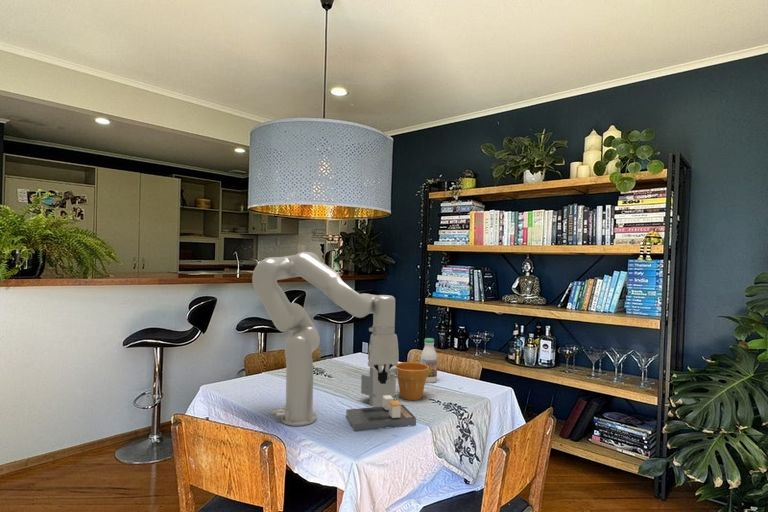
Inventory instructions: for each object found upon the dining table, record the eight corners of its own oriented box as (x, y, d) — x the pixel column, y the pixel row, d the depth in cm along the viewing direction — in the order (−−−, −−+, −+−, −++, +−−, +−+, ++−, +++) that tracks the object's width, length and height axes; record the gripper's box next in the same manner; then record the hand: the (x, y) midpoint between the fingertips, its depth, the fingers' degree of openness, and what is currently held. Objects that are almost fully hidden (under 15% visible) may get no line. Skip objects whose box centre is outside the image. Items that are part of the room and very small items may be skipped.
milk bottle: (417, 380, 211) (417, 338, 211) (429, 377, 215) (429, 336, 215) (428, 384, 205) (428, 341, 204) (440, 381, 209) (441, 339, 209)
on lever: (385, 410, 162) (385, 399, 162) (382, 406, 166) (382, 395, 166) (393, 409, 163) (393, 398, 163) (390, 405, 167) (390, 395, 167)
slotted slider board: (354, 431, 150) (354, 423, 150) (346, 416, 163) (346, 409, 163) (415, 425, 156) (416, 417, 156) (402, 411, 169) (403, 404, 169)
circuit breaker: (370, 397, 185) (370, 361, 185) (397, 404, 176) (397, 367, 176) (357, 401, 180) (358, 364, 179) (385, 409, 170) (385, 371, 170)
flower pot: (423, 391, 194) (424, 361, 194) (432, 402, 180) (432, 370, 180) (391, 392, 192) (392, 362, 192) (398, 403, 178) (398, 371, 178)
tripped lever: (392, 418, 154) (392, 404, 154) (388, 413, 158) (388, 401, 158) (400, 417, 155) (400, 404, 155) (396, 413, 159) (397, 400, 159)
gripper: (365, 333, 150) (364, 387, 150) (407, 332, 154) (406, 384, 154) (360, 329, 157) (359, 381, 157) (400, 328, 161) (399, 378, 161)
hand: (382, 382), depth 155 cm, fingers closed
